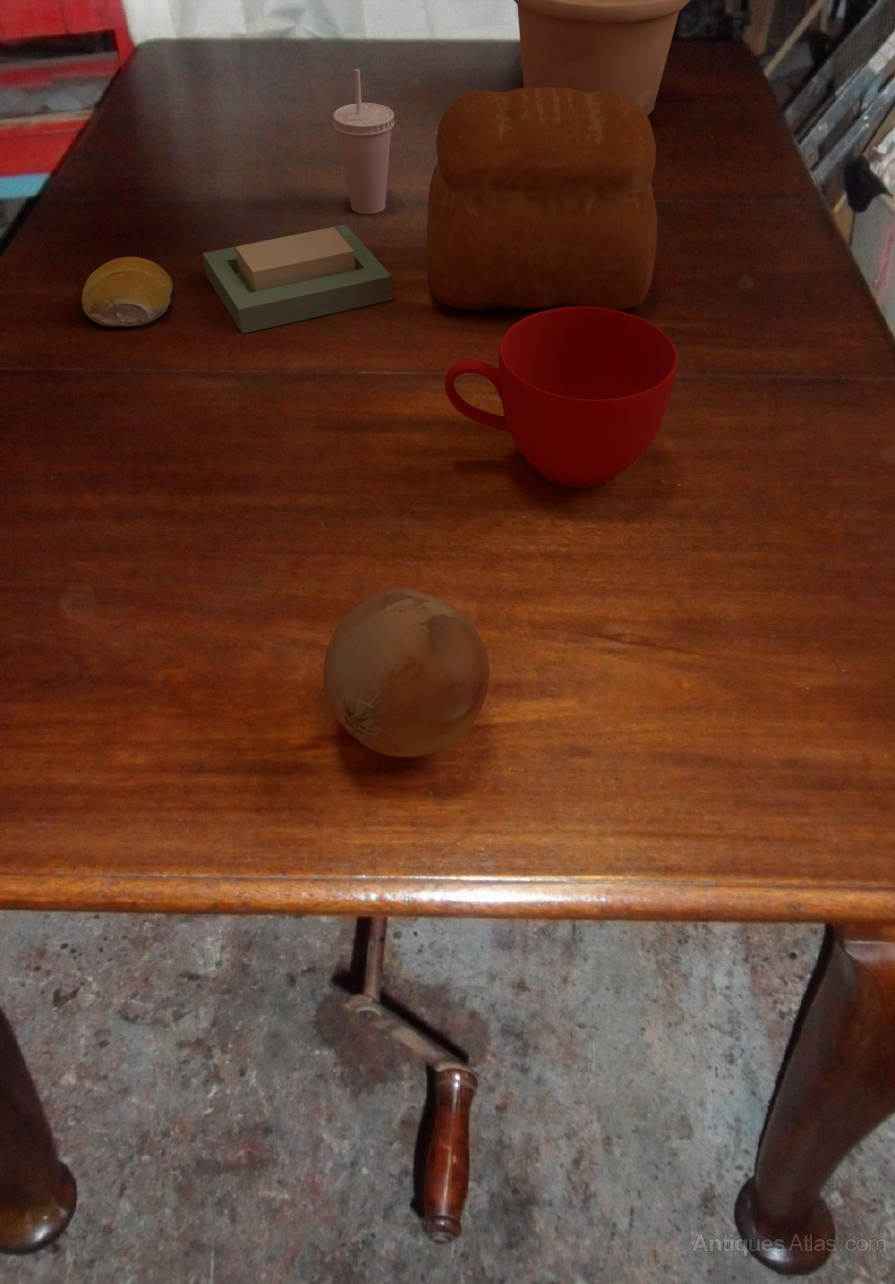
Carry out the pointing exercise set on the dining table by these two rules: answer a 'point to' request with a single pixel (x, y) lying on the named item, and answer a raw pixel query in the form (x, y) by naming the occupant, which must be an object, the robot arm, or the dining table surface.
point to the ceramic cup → (577, 391)
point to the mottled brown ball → (406, 673)
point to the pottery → (597, 45)
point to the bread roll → (127, 292)
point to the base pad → (298, 289)
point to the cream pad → (294, 259)
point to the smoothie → (365, 150)
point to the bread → (542, 201)
